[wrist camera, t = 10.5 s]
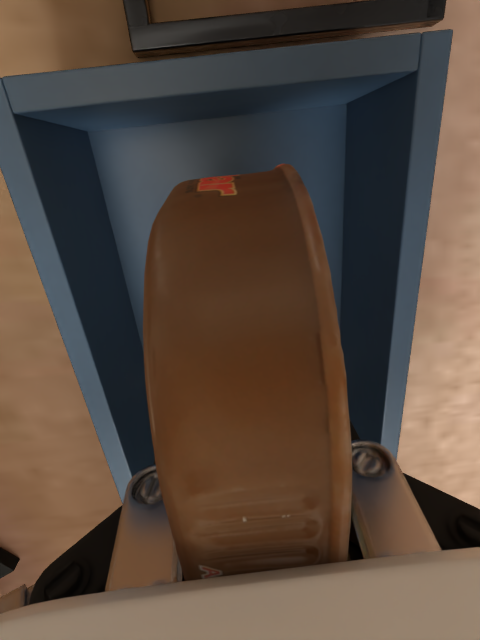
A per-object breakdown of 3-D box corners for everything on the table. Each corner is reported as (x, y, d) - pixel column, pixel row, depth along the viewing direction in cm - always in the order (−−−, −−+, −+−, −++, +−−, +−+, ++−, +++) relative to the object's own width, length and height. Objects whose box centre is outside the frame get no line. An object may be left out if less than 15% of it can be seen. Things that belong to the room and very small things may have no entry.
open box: (359, 82, 14) (454, 28, 8) (344, 443, 23) (386, 538, 17) (69, 113, 14) (-33, 79, 8) (163, 464, 23) (145, 567, 17)
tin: (286, 501, 17) (358, 786, 9) (222, 511, 16) (239, 810, 9) (268, 164, 10) (449, 150, 3) (165, 175, 10) (47, 191, 3)
